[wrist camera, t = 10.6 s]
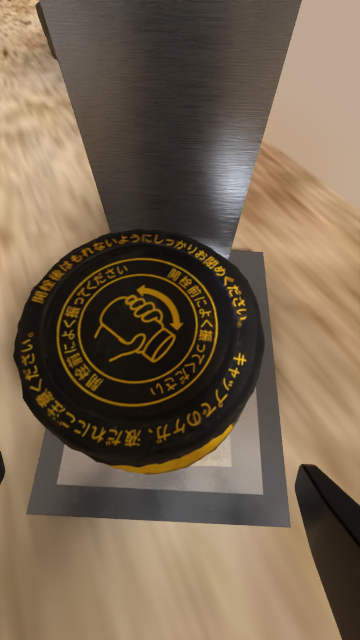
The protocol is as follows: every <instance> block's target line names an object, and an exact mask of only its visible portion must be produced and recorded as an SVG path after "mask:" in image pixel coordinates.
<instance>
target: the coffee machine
mask: <svg viewBox="0 0 360 640" xmlns="http://www.w3.org/2000/svg"><path fill="white" fill-rule="evenodd" d="M39 1H40V4H41V7H42V10H43V14H44V17H45V20H46V23H47V27H48V30H49V33H50V36H51V40H52V43H53V46H54V49H55V53H56V56H57V59H58V62H59V66H60V69H61V72H62V75H63V79H64V82H65V85H66V88H67V92H68V95H69V98H70V101H71V105H72V108H73V111H74V114H75V118H76V121H77V124H78V127H79V131H80V134H81V137H82V140H83V144H84V147H85V150H86V153H87V157H88V160H89V163H90V166H91V170H92V173H93V176H94V179H95V183H96V186H97V189H98V192H99V196H100V199H101V202H102V205H103V209H104V212H105V215H106V218H107V222H108V225H109V228H110V231H111V233H117V232H122V231H129V230H134V229H142V230H162V231H169V232H177V233H181V234H183V235H186V236H188V237H190V238H192V239H194V240H196V241H198V242H200V243H202V244H204V245H206V246H208V247H210V248H212V249H213V250H214V251H216V252H217V253H219V254H220V255H222V256H223V257H225V258H226V259H228V260H229V261H230V262H231V263H232V264H234V265H235V266H237V267H238V269H239V270H240V272H241V273H242V274H243V275H244V277H245V278H246V279H247V280H248V282H249V284H250V286H251V288H252V290H253V292H254V294H255V296H256V299H257V302H258V306H259V309H260V314H261V322H262V326H263V331H264V338H265V349H264V354H263V359H262V364H261V369H260V375H259V378H258V380H257V384H256V387H255V390H254V392H253V394H252V395H251V397H250V398H249V400H248V401H247V403H246V405H245V407H244V410H243V412H242V414H241V415H240V417H239V420H238V422H237V423H236V424H235V426H234V428H233V430H232V431H231V432H230V446H231V463H232V467H220V466H189V467H187V468H183V469H179V470H176V471H171V472H166V473H161V474H152V475H146V474H139V473H134V472H128V471H125V470H120V469H115V468H112V467H110V466H107V465H105V464H98V462H95V461H94V460H93V459H91V458H90V457H88V456H87V455H85V454H84V453H82V452H79V451H76V450H72V449H70V448H69V447H68V446H66V445H65V444H64V443H62V442H61V440H60V439H58V438H57V437H56V436H55V435H53V434H52V433H51V432H50V431H49V430H48V429H47V428H46V431H45V435H44V440H43V444H42V448H41V453H40V457H39V462H38V466H37V470H36V475H35V479H34V483H33V488H32V492H31V496H30V501H29V505H28V509H27V514H32V515H52V516H72V517H91V518H111V519H131V520H151V521H171V522H191V523H211V524H230V525H250V526H270V527H290V528H291V526H290V516H289V506H288V496H287V486H286V476H285V466H284V456H283V446H282V436H281V426H280V416H279V406H278V396H277V387H276V377H275V367H274V357H273V347H272V337H271V327H270V317H269V307H268V297H267V287H266V277H265V267H264V257H263V252H249V251H231V247H232V244H233V240H234V237H235V233H236V230H237V226H238V223H239V219H240V216H241V212H242V209H243V205H244V201H245V198H246V194H247V191H248V187H249V184H250V180H251V177H252V173H253V170H254V166H255V163H256V159H257V156H258V152H259V149H260V145H261V142H262V138H263V135H264V131H265V128H266V124H267V120H268V117H269V114H270V110H271V107H272V103H273V100H274V96H275V93H276V89H277V85H278V82H279V78H280V75H281V71H282V68H283V64H284V61H285V57H286V54H287V50H288V47H289V43H290V40H291V36H292V32H293V29H294V26H295V22H296V19H297V15H298V11H299V8H300V5H301V1H302V0H39Z"/></svg>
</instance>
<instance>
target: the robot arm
mask: <svg viewBox="0 0 360 640" xmlns="http://www.w3.org/2000/svg"><path fill="white" fill-rule="evenodd" d="M4 475H5V467H4V463H3V458H2V454H1V451H0V484H1V482H2V480H3V478H4ZM295 492H296V496H297V500H298V504H299V508H300V512H301V516H302V520H303V523H304V527H305V531H306V535H307V539H308V543H309V546H310V550H311V553H312V556H313V559H314V562H315V565H316V568H317V571H318V573H319V576H320V579H321V582H322V585H323V587H324V590H325V593H326V596H327V599H328V601H329V604H330V607H331V610H332V613H333V615H334V618H335V621H336V624H337V627H338V629H339V632H340V635H341V638H342V640H360V505H359V504H357V503H356V502H355V501H354V500H353V499H352V498H351V497H350V496H349V495H348V494H347V493H345V492H344V491H343V490H342V489H341V488H340V487H339V486H338V485H337V484H336V483H335V482H333V481H332V480H331V479H330V478H329V477H328V476H327V475H326V474H325V473H324V472H322V471H321V470H320V469H319V468H318V467H317V466H315V465H312V464H301V465H300V466H299V470H298V474H297V478H296V482H295Z"/></svg>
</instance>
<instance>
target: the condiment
mask: <svg viewBox="0 0 360 640" xmlns="http://www.w3.org/2000/svg"><path fill="white" fill-rule="evenodd" d="M264 349H265V338H264V331H263V326H262V322H261V314H260V309H259V306H258V302H257V299H256V296H255V294H254V292H253V290H252V288H251V286H250V284H249V282H248V280H247V279H246V278H245V277H244V275H243V274H242V273H241V272H240V270H239V269H238V267H237V266H235V265H234V264H232V263H231V262H230V261H229V260H228V259H226V258H225V257H223V256H222V255H220V254H219V253H217V252H216V251H214V250H213V249H212V248H210V247H208V246H206V245H204V244H202V243H200V242H198V241H196V240H194V239H192V238H190V237H188V236H186V235H183V234H181V233H177V232H169V231H162V230H142V229H134V230H129V231H122V232H117V233H109V234H106V235H103V236H100V237H98V238H97V239H94V240H92V241H90V242H88V243H86V244H84V245H82V246H80V247H78V248H76V249H74V250H72V251H71V252H70V253H68V254H67V255H66V256H64V257H63V258H62V259H60V260H59V262H58V263H56V264H55V265H54V266H53V267H52V268H51V269H50V271H49V272H48V273H47V274H46V275H45V276H44V277H43V279H42V280H41V281H40V282H39V283H38V284H37V285H36V286H35V287H34V288H33V289H32V291H31V294H30V296H29V298H28V300H27V302H26V304H25V306H24V310H23V313H22V316H21V319H20V321H19V323H18V332H17V336H16V340H15V350H14V355H13V356H14V360H15V363H16V365H17V367H18V370H19V374H20V378H21V383H22V391H23V399H24V401H25V402H26V404H27V406H28V407H29V409H30V410H31V412H32V413H33V414H34V416H35V417H36V418H37V419H38V420H39V421H40V422H41V423H42V424H43V425H44V426H45V427H46V428H47V429H48V430H49V431H50V432H51V433H52V434H53V435H55V436H56V437H57V438H58V439H60V440H61V442H62V443H64V444H65V445H66V446H68V447H69V448H70V449H72V450H76V451H79V452H82V453H84V454H85V455H87V456H88V457H90V458H91V459H93V460H94V461H95V462H98V464H105V465H107V466H110V467H112V468H115V469H120V470H125V471H128V472H134V473H139V474H146V475H152V474H161V473H166V472H171V471H176V470H179V469H183V468H187V467H189V466H220V467H232V463H231V446H230V432H231V431H232V430H233V428H234V426H235V424H236V423H237V422H238V420H239V417H240V415H241V414H242V412H243V410H244V407H245V405H246V403H247V401H248V400H249V398H250V397H251V395H252V394H253V392H254V390H255V387H256V384H257V380H258V378H259V375H260V369H261V364H262V359H263V354H264Z"/></svg>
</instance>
